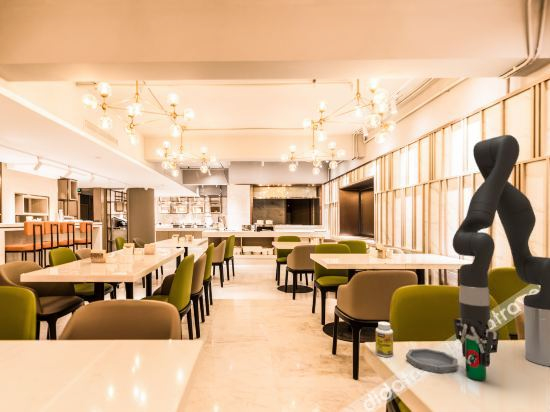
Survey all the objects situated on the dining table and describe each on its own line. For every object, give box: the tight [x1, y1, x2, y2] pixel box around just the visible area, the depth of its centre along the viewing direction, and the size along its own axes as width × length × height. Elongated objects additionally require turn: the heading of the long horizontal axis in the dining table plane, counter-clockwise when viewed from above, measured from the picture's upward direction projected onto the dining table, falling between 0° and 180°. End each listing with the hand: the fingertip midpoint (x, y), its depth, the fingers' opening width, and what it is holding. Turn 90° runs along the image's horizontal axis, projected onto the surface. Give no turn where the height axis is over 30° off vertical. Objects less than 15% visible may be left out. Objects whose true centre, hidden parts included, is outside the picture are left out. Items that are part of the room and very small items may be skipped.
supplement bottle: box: [375, 321, 394, 358], centre depth 110 cm, size 6×6×10 cm
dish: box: [405, 348, 459, 374], centre depth 103 cm, size 14×14×2 cm
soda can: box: [464, 333, 487, 382], centre depth 94 cm, size 5×5×12 cm
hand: (475, 361), depth 94 cm, fingers open, 5 cm apart
